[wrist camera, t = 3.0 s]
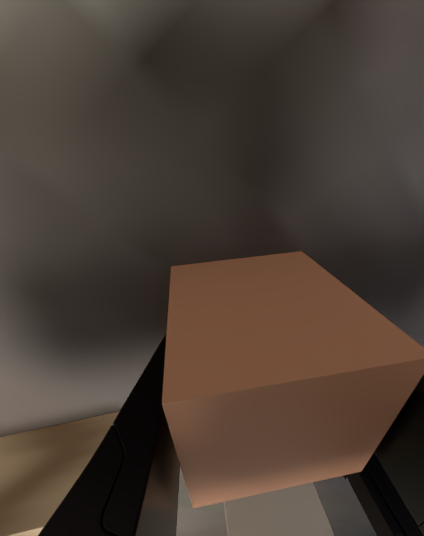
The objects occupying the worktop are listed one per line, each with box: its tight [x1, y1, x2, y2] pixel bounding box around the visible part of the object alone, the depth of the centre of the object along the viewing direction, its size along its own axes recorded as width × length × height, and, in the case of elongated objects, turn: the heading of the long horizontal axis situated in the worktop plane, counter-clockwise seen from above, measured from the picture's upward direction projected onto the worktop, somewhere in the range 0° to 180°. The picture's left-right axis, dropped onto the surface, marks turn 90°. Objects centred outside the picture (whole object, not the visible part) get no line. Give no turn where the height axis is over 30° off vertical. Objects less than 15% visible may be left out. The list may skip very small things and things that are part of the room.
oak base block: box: [0, 412, 119, 536], centre depth 12 cm, size 8×8×4 cm
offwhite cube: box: [224, 482, 334, 536], centre depth 13 cm, size 5×5×5 cm
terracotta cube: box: [162, 251, 424, 508], centre depth 7 cm, size 5×5×5 cm
